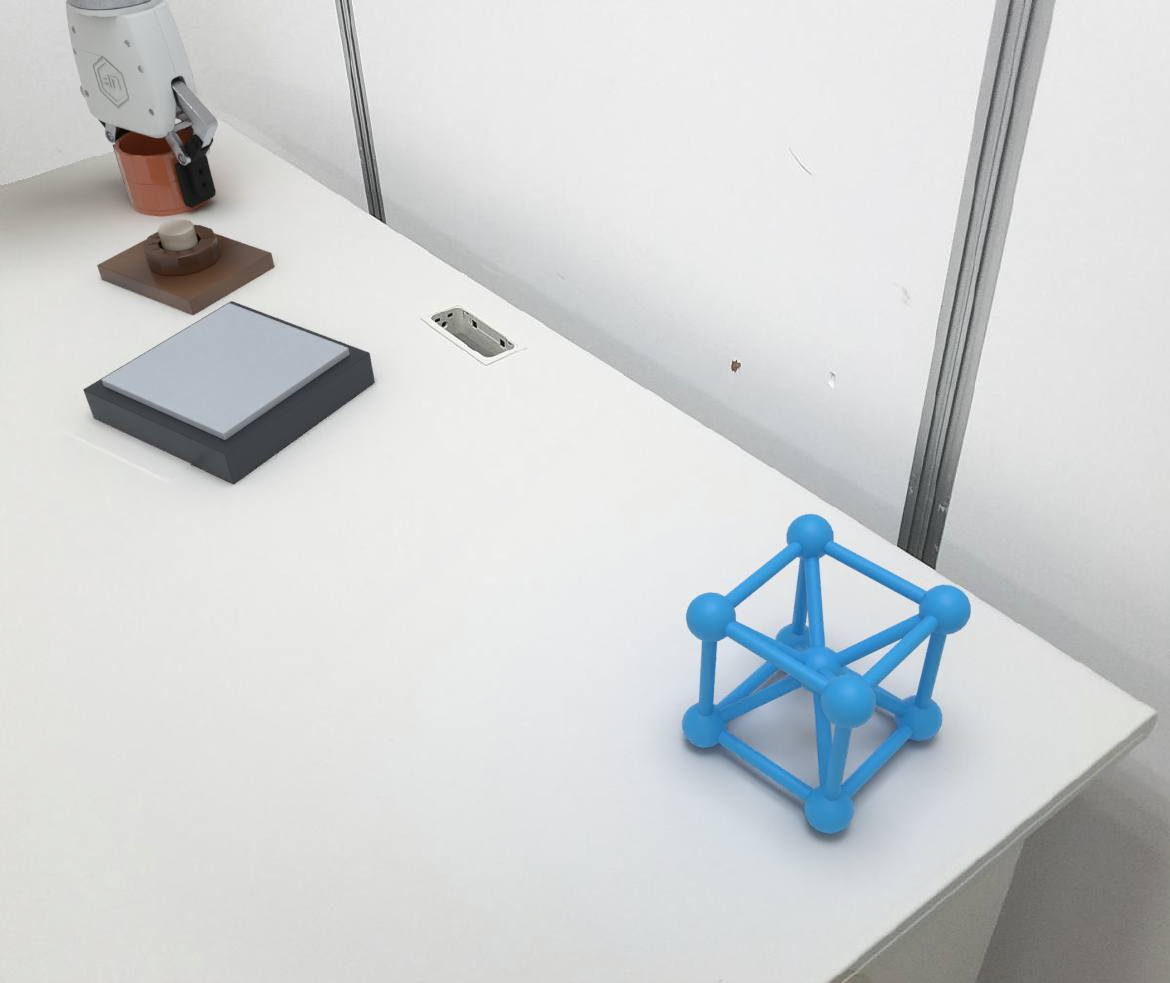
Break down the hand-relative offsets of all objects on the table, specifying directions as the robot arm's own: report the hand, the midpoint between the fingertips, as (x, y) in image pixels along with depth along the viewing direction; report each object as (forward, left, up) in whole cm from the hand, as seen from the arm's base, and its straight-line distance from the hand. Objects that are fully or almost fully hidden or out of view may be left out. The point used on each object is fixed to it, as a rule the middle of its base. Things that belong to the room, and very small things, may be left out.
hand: (170, 190), depth 110 cm
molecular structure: (+77, -26, -1) cm, 81 cm away
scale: (+29, -20, -1) cm, 35 cm away
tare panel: (+12, -9, -1) cm, 15 cm away
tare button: (+12, -9, +2) cm, 15 cm away
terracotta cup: (0, 0, -1) cm, 1 cm away
